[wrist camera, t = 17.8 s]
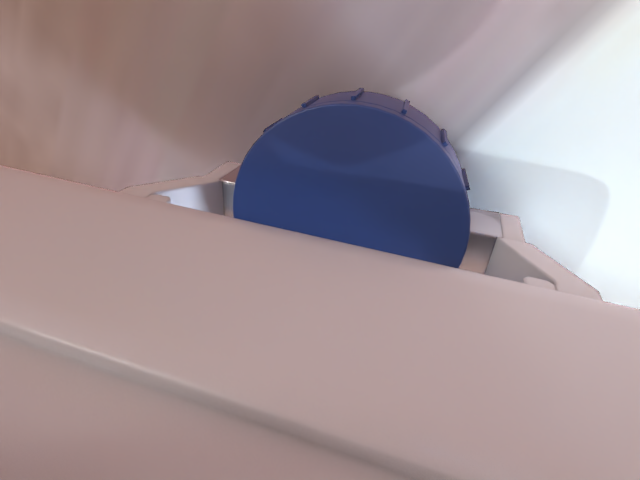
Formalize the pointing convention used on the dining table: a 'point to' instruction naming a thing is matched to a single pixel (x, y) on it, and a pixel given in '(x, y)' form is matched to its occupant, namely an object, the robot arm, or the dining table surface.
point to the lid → (359, 178)
